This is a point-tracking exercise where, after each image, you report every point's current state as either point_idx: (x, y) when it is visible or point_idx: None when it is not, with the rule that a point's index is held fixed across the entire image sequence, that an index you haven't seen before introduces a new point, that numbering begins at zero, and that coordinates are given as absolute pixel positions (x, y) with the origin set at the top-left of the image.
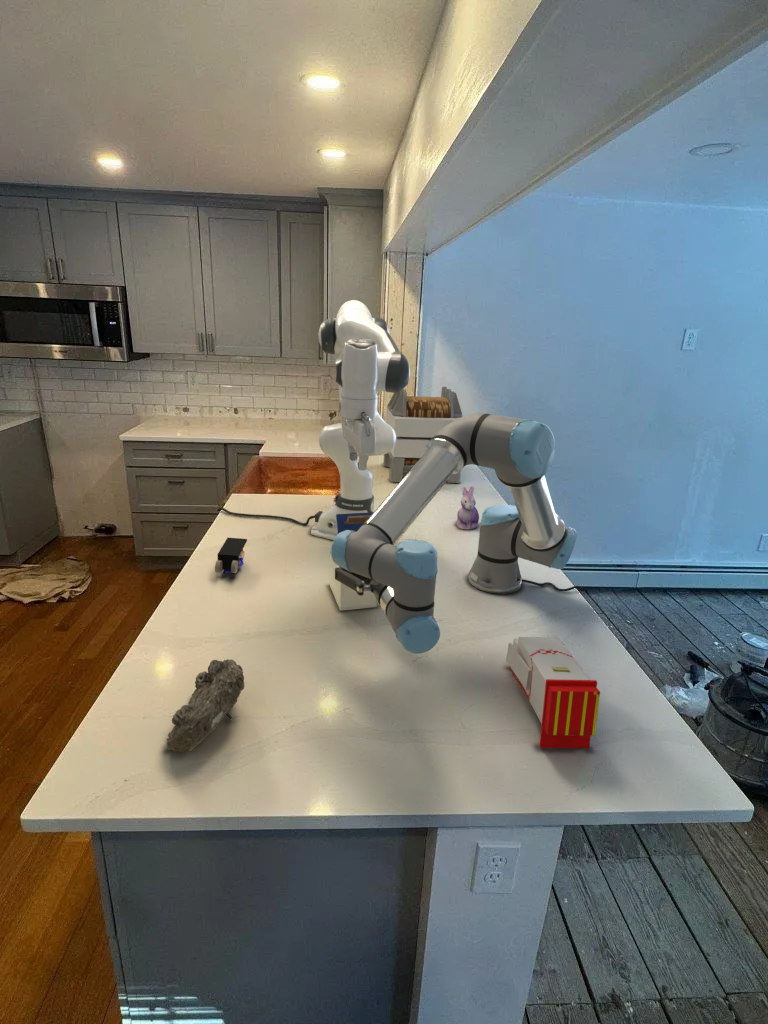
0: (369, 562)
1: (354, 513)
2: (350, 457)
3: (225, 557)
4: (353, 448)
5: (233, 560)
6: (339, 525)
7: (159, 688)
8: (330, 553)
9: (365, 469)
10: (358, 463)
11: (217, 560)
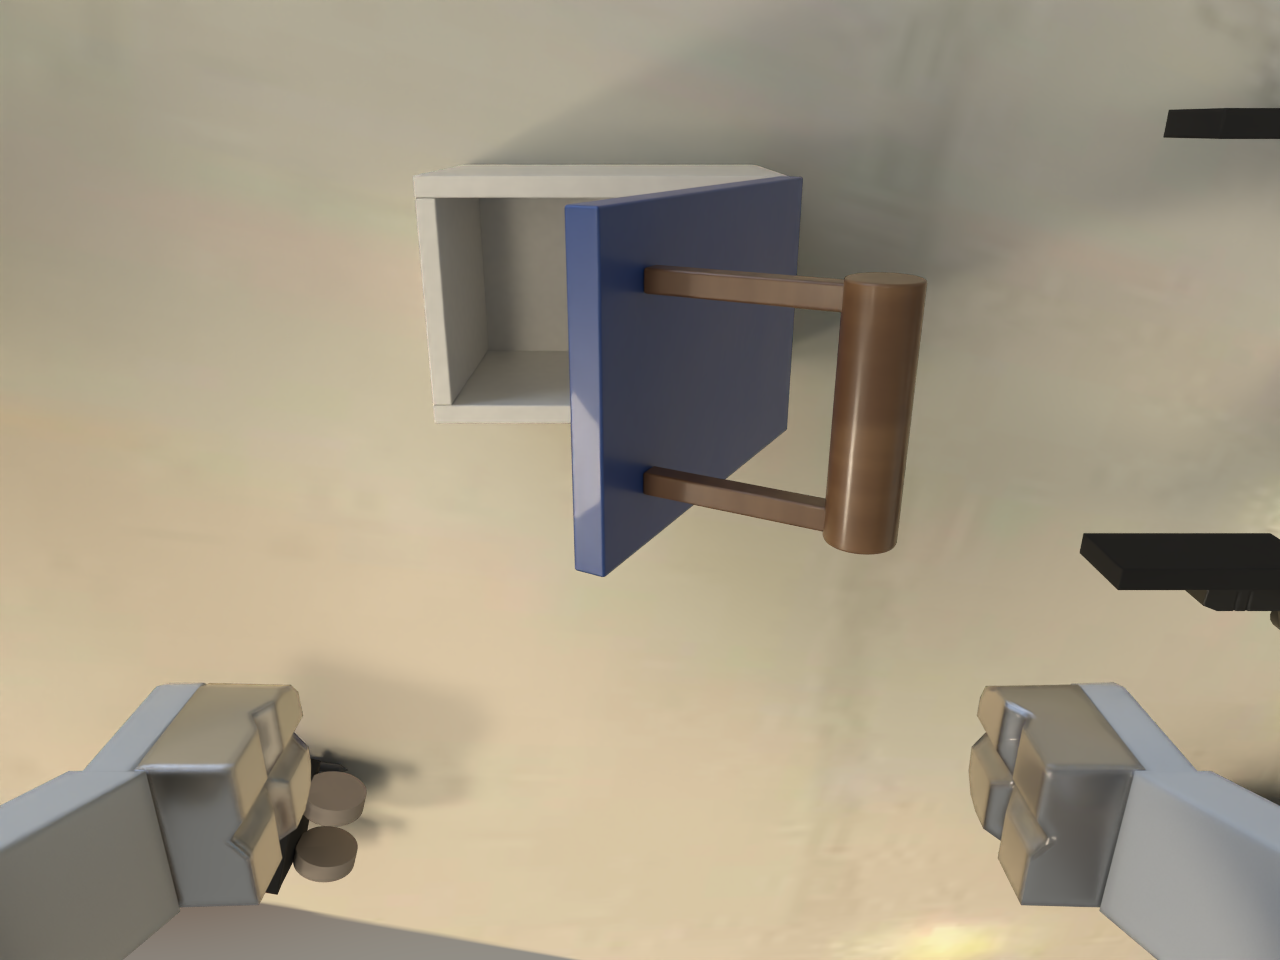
0: None
1: (602, 413)
2: (278, 836)
3: (288, 854)
4: (39, 914)
5: (314, 820)
6: (655, 522)
7: (1047, 948)
8: (446, 421)
9: (1112, 693)
10: (1064, 889)
11: (309, 878)
